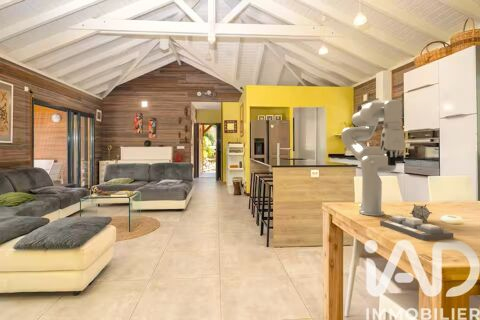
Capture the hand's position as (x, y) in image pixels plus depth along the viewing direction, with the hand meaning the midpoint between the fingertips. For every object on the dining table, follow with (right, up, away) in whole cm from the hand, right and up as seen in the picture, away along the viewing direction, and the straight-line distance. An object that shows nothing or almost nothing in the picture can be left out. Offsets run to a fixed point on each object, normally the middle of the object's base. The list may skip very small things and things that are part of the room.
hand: (391, 165), depth 140 cm
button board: (+2, -28, -15) cm, 32 cm away
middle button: (+2, -24, -15) cm, 29 cm away
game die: (+15, -27, +2) cm, 31 cm away
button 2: (+3, -26, -23) cm, 35 cm away
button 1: (0, -25, -7) cm, 26 cm away
